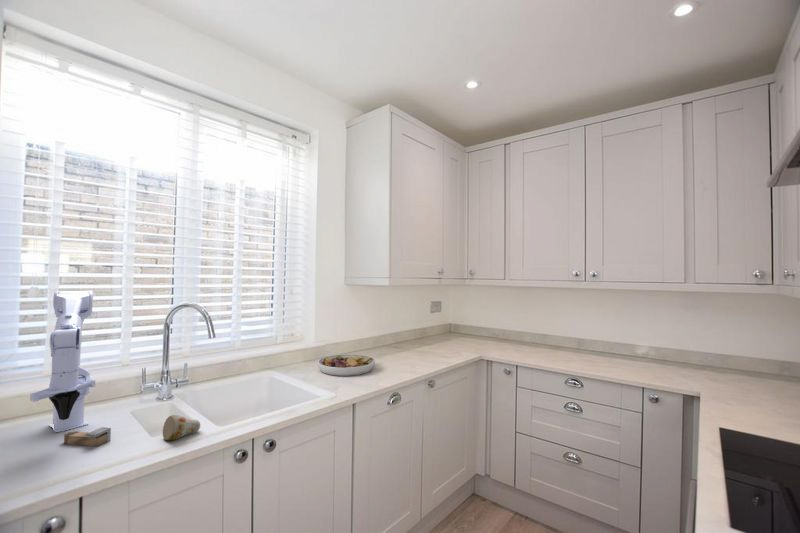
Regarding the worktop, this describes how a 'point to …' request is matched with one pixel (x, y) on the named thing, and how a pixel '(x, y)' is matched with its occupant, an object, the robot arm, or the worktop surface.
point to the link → (84, 438)
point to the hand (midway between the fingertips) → (63, 418)
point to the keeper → (100, 431)
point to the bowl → (346, 365)
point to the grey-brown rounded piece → (179, 427)
